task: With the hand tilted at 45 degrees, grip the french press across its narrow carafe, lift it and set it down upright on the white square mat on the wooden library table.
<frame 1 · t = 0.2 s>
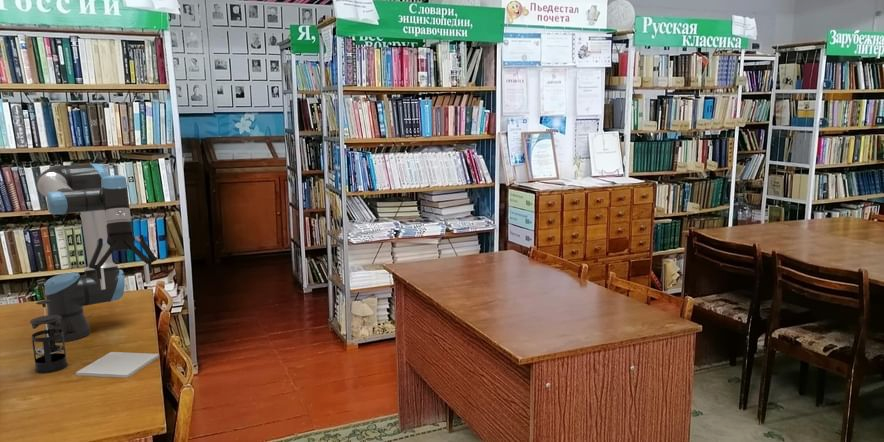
hand: (126, 286, 215), 27 cm above the table, tool tilted 15°, fingers open, 13 cm apart
french press: (52, 367, 219), on the table
white square mat: (119, 365, 219), on the table
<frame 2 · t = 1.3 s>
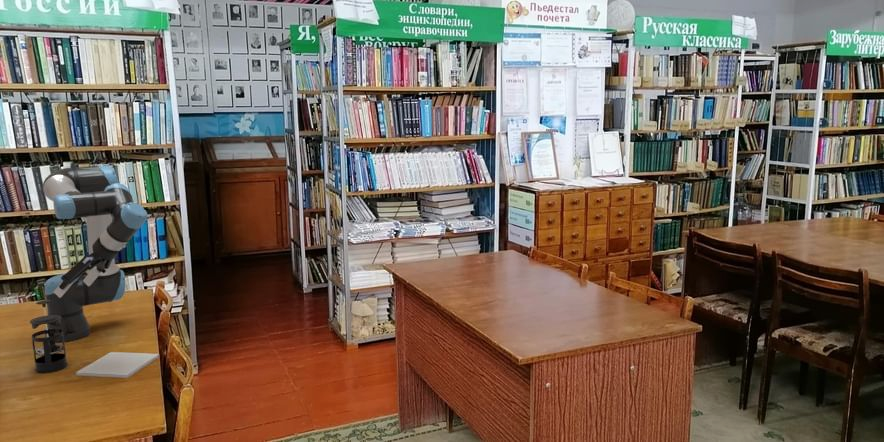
hand: (72, 288, 213), 27 cm above the table, tool tilted 45°, fingers open, 13 cm apart
nothing on the table moved.
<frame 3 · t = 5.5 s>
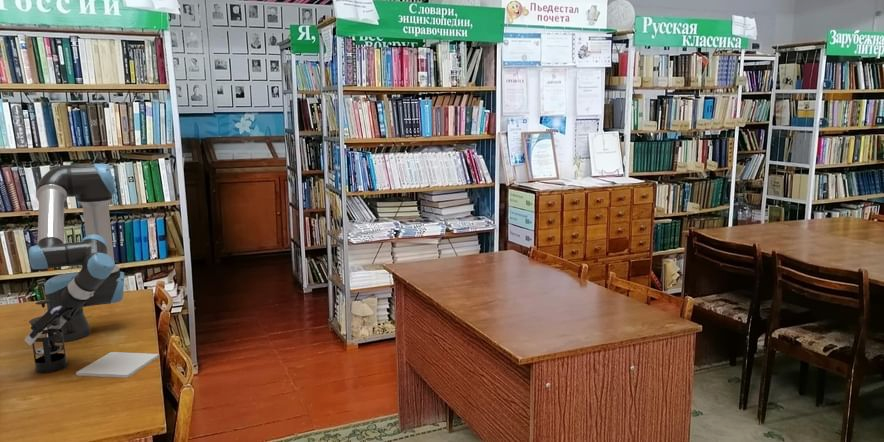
hand: (40, 336, 218), 11 cm above the table, tool tilted 45°, fingers closed on french press, 10 cm apart
french press: (52, 367, 219), on the table, touching gripper
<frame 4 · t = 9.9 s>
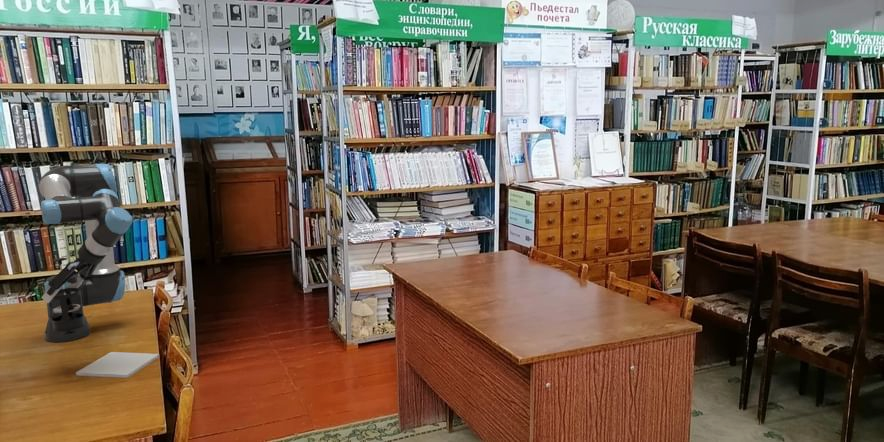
hand: (57, 295, 214), 25 cm above the table, tool tilted 45°, fingers closed on french press, 10 cm apart
french press: (69, 327, 215), point 14 cm above the table, touching gripper
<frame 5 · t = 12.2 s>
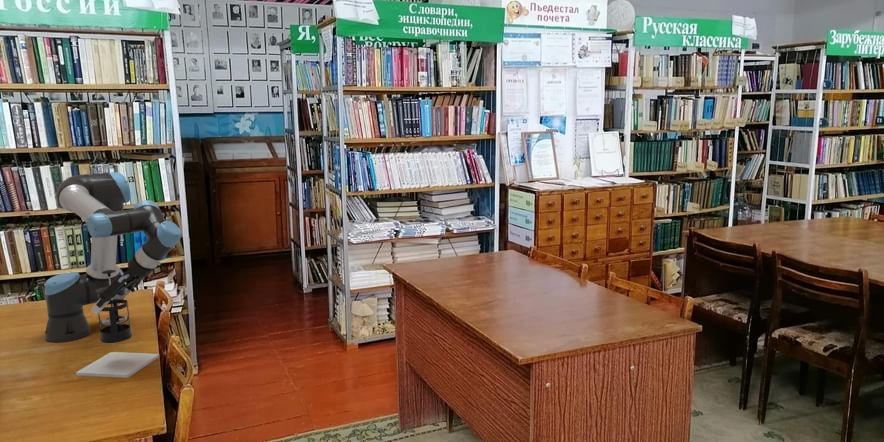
hand: (105, 306, 216), 20 cm above the table, tool tilted 45°, fingers closed on french press, 10 cm apart
french press: (116, 338, 217), point 10 cm above the table, touching gripper
when the fingers open (13 cm above the table, at t = 14.4 s): french press drops 1 cm, resting on white square mat.
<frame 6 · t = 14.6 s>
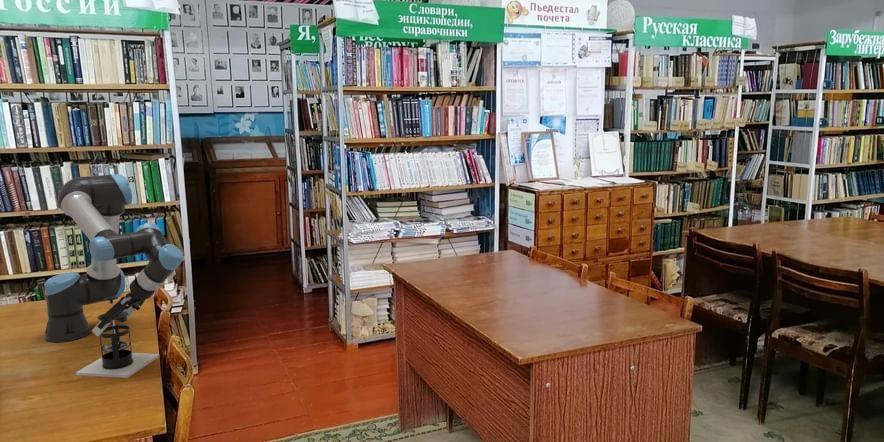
hand: (108, 326, 217), 14 cm above the table, tool tilted 45°, fingers open, 13 cm apart
french press: (118, 364, 219), point 1 cm above the table, touching white square mat
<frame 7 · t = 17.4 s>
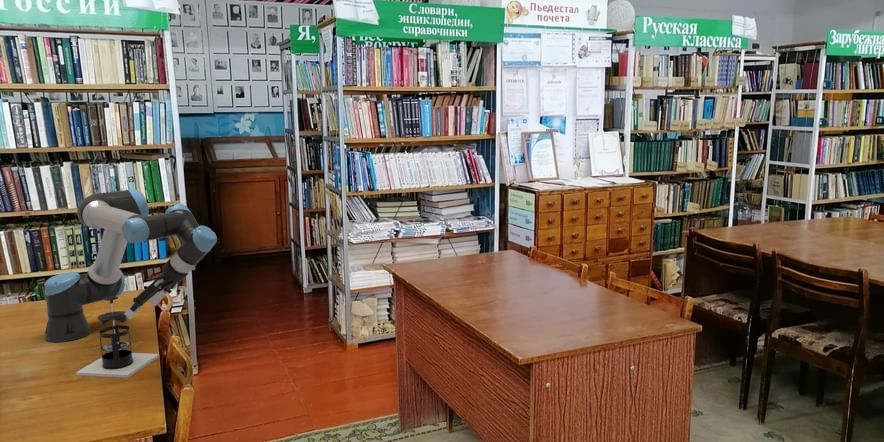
hand: (140, 309, 215), 20 cm above the table, tool tilted 45°, fingers open, 13 cm apart
nothing on the table moved.
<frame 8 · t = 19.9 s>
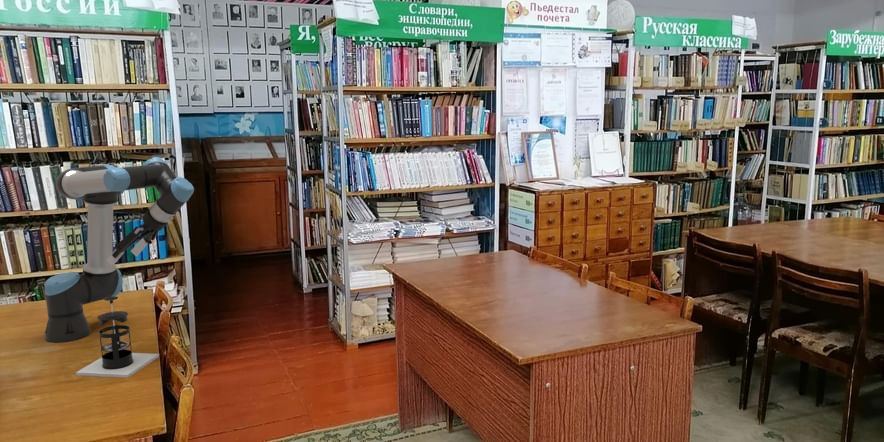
hand: (122, 258, 227), 34 cm above the table, tool tilted 45°, fingers open, 13 cm apart
nothing on the table moved.
at the end: french press inside the target area on the white square mat (0.5 cm from its centre), point 0.8 cm above the white square mat's base; french press tilted 0°; the gripper is holding nothing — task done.
